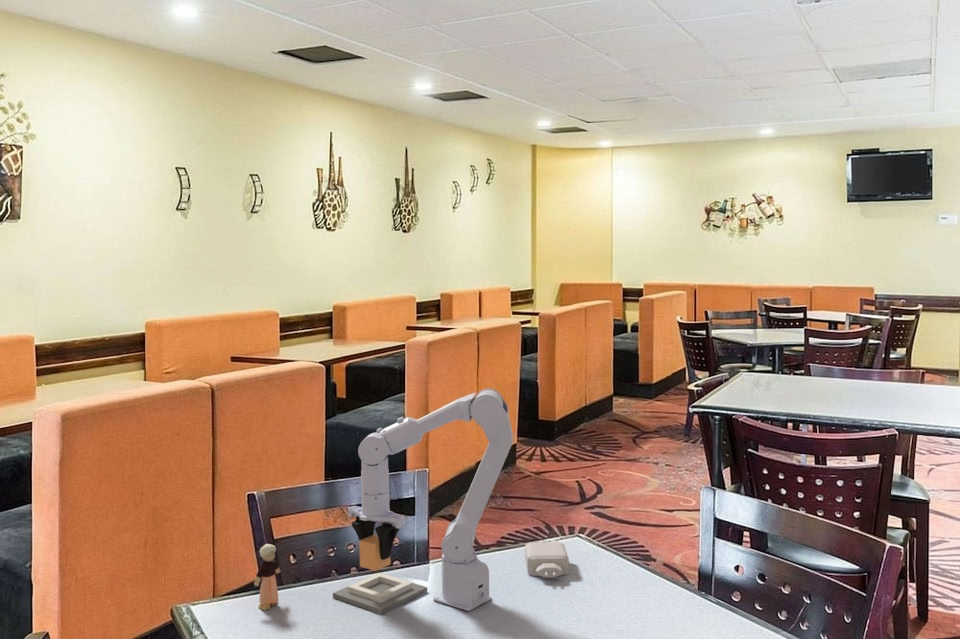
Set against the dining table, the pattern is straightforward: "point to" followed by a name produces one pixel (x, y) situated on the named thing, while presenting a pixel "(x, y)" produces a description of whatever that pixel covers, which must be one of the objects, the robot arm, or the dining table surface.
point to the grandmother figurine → (267, 577)
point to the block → (371, 554)
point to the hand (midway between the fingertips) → (376, 555)
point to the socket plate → (380, 593)
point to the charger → (546, 559)
